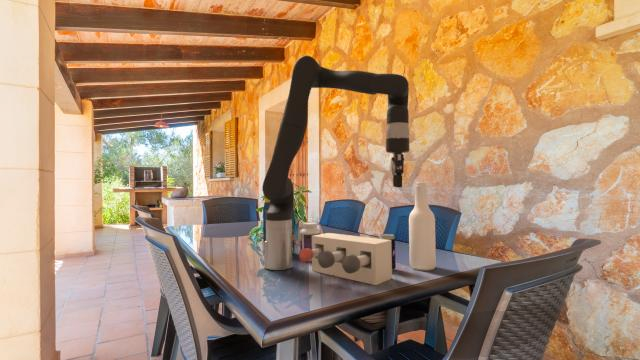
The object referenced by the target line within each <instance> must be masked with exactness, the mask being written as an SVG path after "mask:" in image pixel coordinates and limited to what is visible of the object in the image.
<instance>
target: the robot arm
mask: <svg viewBox="0 0 640 360" xmlns="http://www.w3.org/2000/svg"><path fill="white" fill-rule="evenodd" d="M290 80H291V81H290V86H289V93H288V97H287V99H286V103H285V106H284V110H283V115H282V118H281V121H280V124H279V128H278V133H277V137H276V141H275V145H274V149H273V153H272V157H271V160H270V163H269V167H267V168H268V169H267V172H266V174H265V177H264V179H263V182H262V189H261V190H262V192H263V195H264V198H265V197H266V198H267V199H268V200H270V206H269V209H268V211H267V212H266V241H265V242H264V250H263V255H264V256H263V257H264V258H263V261H264V262H263V263H264V264H263V265H264V266H263V267H264V269H267V270H270V271H284V270H289V269H291V268H293V254H292V212H293V208H294V203H295V202H294V200H295V199H294V195H295V194H294V192H295V191H294V182H292V180H291V178H290V177H289V174H290V173H289V172H290V169H291V166H292V163H293V161H294V159H295V157H296V156H297V154H298V152H299V151H300V149H301V147H302V145H303V142H304V139H305V135H306V131H307V127H308V119H309V99H310V94H311V90H312V89H337V90H344V91H349V92H355V93H361V94H366V95H373V96H374V95H377V94H381V95H387V111H386V129H385V152H386V153H387V154H388V153H389V154H393V156H392V157H391V159H390V164H391V175H392V186H393V187H394V188H403V175H404V172H405V170H404V169H405V157H404V156H405V155H404V153H409V152H410V127H409V118H410V115H409V108H408V107H409V94H410V93H409V92H410V90H409V89H410V88H409V86H410V85H409V81H408V79H407V77H405V76H403V75H402V74H397V73H375V72H369V71H363V70H334V69H329V68H326V67H324V66H321V65H320V64H319V62H318V61H317V60H316V59H315V58H314V57H312V56H310V55H303V56H301V57H299V58H298V59H297V60H296V61H295V62H294V66H293V69H292V73H291V79H290Z"/></svg>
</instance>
